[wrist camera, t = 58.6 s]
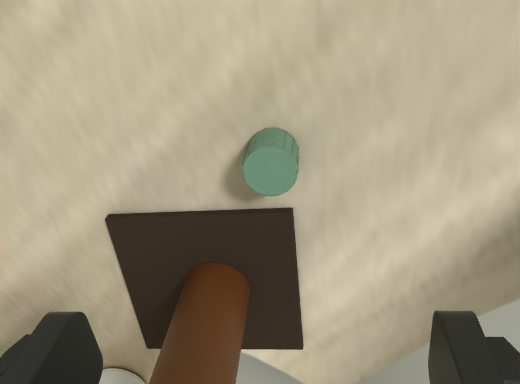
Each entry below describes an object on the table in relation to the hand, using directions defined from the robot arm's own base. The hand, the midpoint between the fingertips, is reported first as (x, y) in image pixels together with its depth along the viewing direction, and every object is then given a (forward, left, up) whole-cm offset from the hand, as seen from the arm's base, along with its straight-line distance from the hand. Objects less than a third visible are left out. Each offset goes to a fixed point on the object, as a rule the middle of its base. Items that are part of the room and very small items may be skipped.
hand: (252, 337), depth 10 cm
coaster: (+9, +20, -24) cm, 32 cm away
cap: (+2, +6, -24) cm, 25 cm away
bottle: (+8, +19, -23) cm, 31 cm away
